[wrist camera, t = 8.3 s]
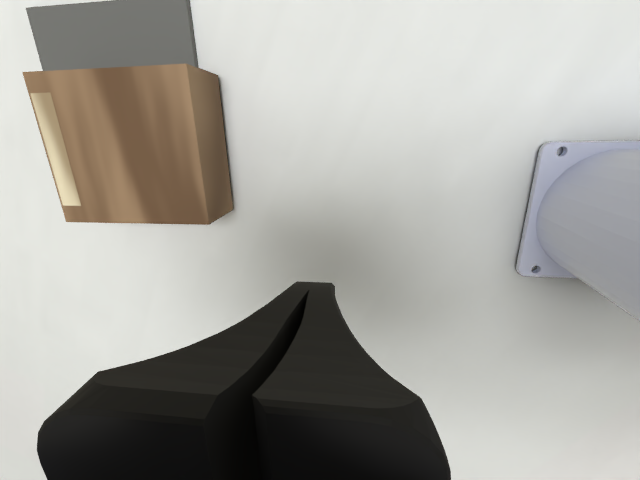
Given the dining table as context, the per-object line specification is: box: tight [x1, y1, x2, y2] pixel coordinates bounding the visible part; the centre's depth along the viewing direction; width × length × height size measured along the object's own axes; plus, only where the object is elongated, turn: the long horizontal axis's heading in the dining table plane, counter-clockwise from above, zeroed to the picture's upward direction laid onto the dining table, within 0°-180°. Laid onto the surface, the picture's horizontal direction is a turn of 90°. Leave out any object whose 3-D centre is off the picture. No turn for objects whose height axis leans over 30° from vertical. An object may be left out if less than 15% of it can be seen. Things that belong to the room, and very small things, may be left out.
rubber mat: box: [26, 0, 198, 71], centre depth 20 cm, size 10×12×1 cm
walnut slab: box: [23, 64, 233, 224], centre depth 19 cm, size 4×8×9 cm
